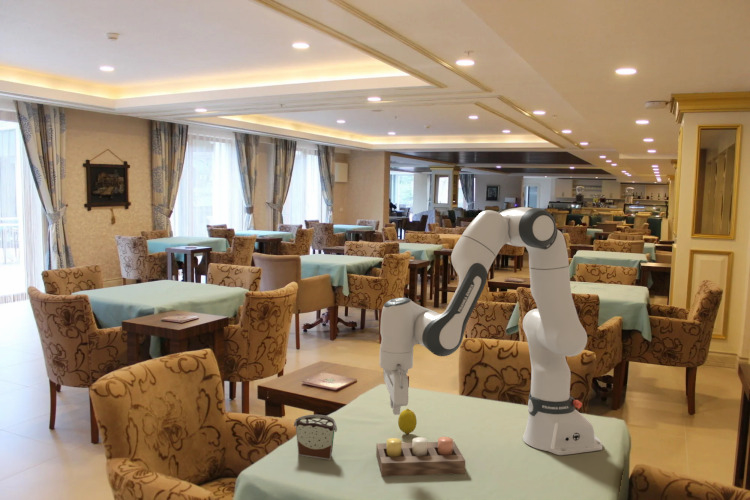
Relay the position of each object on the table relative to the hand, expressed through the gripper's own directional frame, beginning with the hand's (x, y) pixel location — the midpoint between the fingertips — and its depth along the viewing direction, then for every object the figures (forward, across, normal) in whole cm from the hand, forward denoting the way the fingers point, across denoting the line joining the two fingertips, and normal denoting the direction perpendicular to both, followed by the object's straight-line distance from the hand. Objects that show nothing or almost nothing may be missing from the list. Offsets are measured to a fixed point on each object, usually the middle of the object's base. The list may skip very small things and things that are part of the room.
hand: (395, 410), depth 157 cm
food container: (+15, +9, +20) cm, 27 cm away
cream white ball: (+12, 0, -7) cm, 14 cm away
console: (+15, 0, -7) cm, 17 cm away
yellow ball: (+12, 0, 0) cm, 12 cm away
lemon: (+15, +20, -7) cm, 26 cm away
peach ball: (+12, 0, -14) cm, 18 cm away
